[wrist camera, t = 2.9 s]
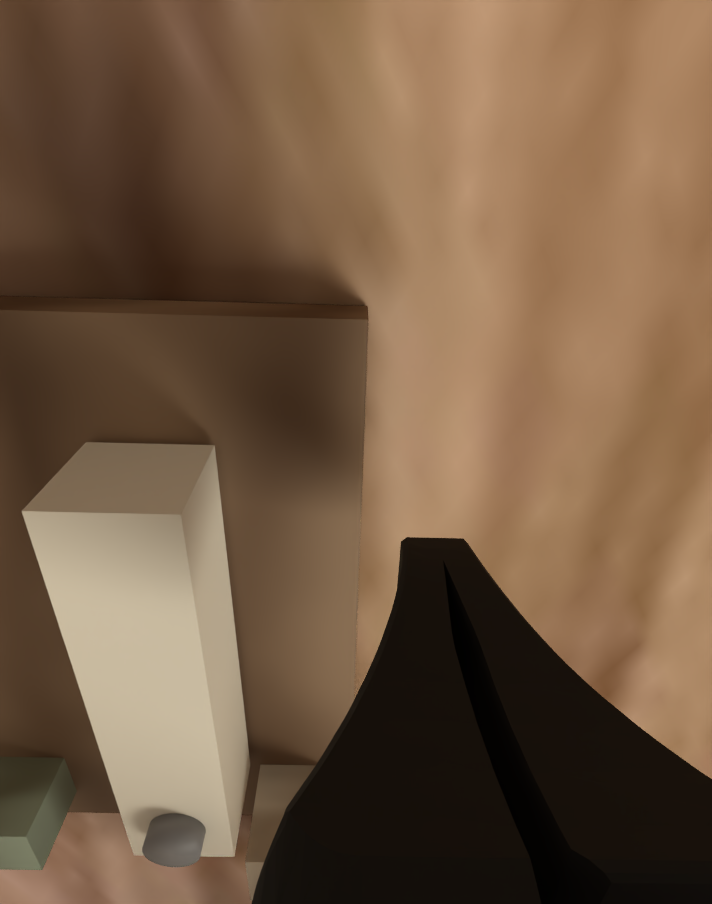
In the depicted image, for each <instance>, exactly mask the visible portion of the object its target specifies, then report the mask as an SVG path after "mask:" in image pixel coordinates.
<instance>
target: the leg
mask: <svg viewBox="0 0 712 904" xmlns="http://www.w3.org/2000/svg"><path fill="white" fill-rule="evenodd" d="M22 514H23V517H24V520H25V523H26V527H27V530H28V533H29V536H30V539H31V542H32V545H33V548H34V551H35V554H36V557H37V560H38V563H39V566H40V569H41V572H42V575H43V579H44V582H45V585H46V588H47V591H48V594H49V597H50V600H51V603H52V606H53V609H54V612H55V615H56V618H57V621H58V624H59V628H60V631H61V634H62V637H63V640H64V643H65V646H66V649H67V652H68V655H69V658H70V661H71V664H72V667H73V670H74V673H75V676H76V680H77V683H78V686H79V689H80V692H81V695H82V698H83V701H84V704H85V707H86V710H87V713H88V716H89V719H90V722H91V725H92V729H93V732H94V735H95V738H96V741H97V744H98V747H99V750H100V753H101V756H102V759H103V762H104V765H105V768H106V771H107V774H108V777H109V781H110V784H111V787H112V790H113V793H114V796H115V799H116V802H117V805H118V808H119V811H120V814H121V817H122V820H123V823H124V826H125V830H126V833H127V836H128V839H129V842H130V845H131V848H132V851H133V854H134V855H144V856H145V857H146V858H147V859H148V860H150V861H152V862H154V863H156V864H159V865H162V866H167V867H184V866H189V865H192V864H194V863H195V862H197V861H198V860H199V858H200V856H213V857H234V856H235V851H236V845H237V839H238V833H239V828H240V822H241V816H242V810H243V805H244V799H245V793H246V787H247V781H248V776H249V770H250V757H249V748H248V739H247V730H246V721H245V712H244V703H243V694H242V685H241V676H240V668H239V659H238V650H237V641H236V632H235V623H234V614H233V605H232V596H231V587H230V578H229V569H228V560H227V551H226V542H225V533H224V524H223V515H222V507H221V498H220V489H219V480H218V471H217V462H216V453H215V445H187V444H145V443H103V442H86V443H85V444H84V445H83V446H82V447H81V448H80V449H79V450H78V451H77V452H76V453H75V454H74V455H73V457H72V458H71V459H70V460H69V461H68V462H67V463H66V464H65V465H64V466H63V467H62V468H61V469H60V470H59V472H58V473H57V474H56V475H55V476H54V477H53V478H52V479H51V480H50V481H49V482H48V483H47V484H46V485H45V487H44V488H43V489H42V490H41V491H40V492H39V493H38V494H37V495H36V496H35V497H34V498H33V499H32V500H31V502H30V503H29V504H28V505H27V506H26V507H25V508H24V509H23V510H22Z"/></svg>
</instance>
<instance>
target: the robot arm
mask: <svg viewBox="0 0 712 904" xmlns="http://www.w3.org/2000/svg"><path fill="white" fill-rule="evenodd" d="M252 904H712V779H711V778H709V777H708V776H706V775H704V774H703V773H701V772H700V771H699V770H697V769H696V768H694V767H693V766H691V765H690V764H689V763H687V762H686V761H684V760H683V759H682V758H680V757H679V756H678V755H676V754H675V753H673V752H672V751H671V750H669V749H668V748H666V747H665V746H664V745H662V744H661V743H659V742H658V741H657V740H656V739H654V738H653V737H652V736H650V735H649V734H648V733H646V732H645V731H644V730H642V729H641V728H640V727H639V726H637V725H636V724H635V723H634V722H632V721H631V720H630V719H629V718H628V717H626V716H625V715H624V714H623V713H621V712H620V711H619V710H618V709H617V708H615V707H614V706H613V705H612V704H610V703H609V702H608V701H607V700H606V699H604V698H603V697H602V696H601V695H600V694H599V693H597V692H596V691H595V690H594V689H593V688H592V687H591V686H589V685H588V684H587V683H586V682H585V681H584V680H583V679H582V678H581V677H580V676H579V675H578V674H577V673H576V672H575V671H573V670H572V669H571V668H570V667H569V666H568V665H567V664H566V663H565V662H564V661H563V660H562V659H561V658H560V657H559V656H558V655H557V654H556V653H555V652H554V651H553V649H552V648H551V647H550V646H549V645H548V644H547V643H546V642H545V641H544V640H543V639H542V638H541V637H540V635H539V634H538V633H537V632H536V631H535V630H534V629H533V628H532V627H531V625H530V624H529V623H528V622H527V621H526V620H525V618H524V617H523V616H522V615H521V614H520V613H519V611H518V610H517V609H516V608H515V606H514V605H513V604H512V603H511V601H510V600H509V599H508V598H507V596H506V595H505V594H504V593H503V592H502V590H501V589H500V588H499V586H498V585H497V584H496V582H495V581H494V580H493V578H492V577H491V576H490V574H489V573H488V572H487V570H486V569H485V567H484V566H483V565H482V563H481V562H480V560H479V559H478V558H477V556H476V555H475V553H474V552H473V550H472V549H471V547H470V546H469V545H468V543H467V542H466V541H465V540H464V539H456V538H410V537H407V538H405V539H404V540H403V541H401V550H400V562H399V573H398V585H397V592H396V596H395V600H394V604H393V608H392V611H391V614H390V617H389V620H388V623H387V626H386V628H385V631H384V634H383V637H382V640H381V642H380V645H379V647H378V650H377V652H376V655H375V657H374V660H373V662H372V664H371V666H370V669H369V671H368V673H367V675H366V677H365V679H364V681H363V683H362V685H361V687H360V689H359V691H358V693H357V695H356V698H355V700H354V702H353V703H352V705H351V707H350V709H349V711H348V713H347V715H346V716H345V718H344V720H343V722H342V723H341V725H340V727H339V728H338V730H337V732H336V733H335V735H334V737H333V738H332V740H331V742H330V743H329V745H328V747H327V748H326V750H325V752H324V753H323V755H322V756H321V758H320V759H319V761H318V763H317V764H316V766H315V767H314V769H313V770H312V771H311V773H310V774H309V776H308V777H307V779H306V780H305V781H304V783H303V784H302V786H301V787H300V789H299V790H298V791H297V793H296V794H295V796H294V797H293V799H292V800H291V801H290V803H289V804H288V806H287V807H286V809H285V812H284V815H283V818H282V820H281V822H280V824H279V827H278V829H277V831H276V834H275V836H274V838H273V841H272V843H271V846H270V848H269V851H268V853H267V856H266V858H265V861H264V864H263V866H262V869H261V872H260V875H259V878H258V881H257V884H256V888H255V892H254V896H253V900H252Z"/></svg>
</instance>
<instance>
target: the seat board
mask: <svg viewBox="0 0 712 904" xmlns="http://www.w3.org/2000/svg"><path fill="white" fill-rule="evenodd" d="M367 344H368V307H367V306H356V305H319V304H281V303H244V302H206V301H169V300H131V299H94V298H56V297H19V296H0V869H12V870H42V869H43V867H44V865H45V863H46V860H47V858H48V856H49V853H50V851H51V849H52V847H53V844H54V842H55V840H56V837H57V835H58V833H59V831H60V828H61V826H62V824H63V821H64V819H65V817H66V815H67V812H94V813H120V811H119V808H118V805H117V802H116V799H115V796H114V793H113V790H112V787H111V784H110V781H109V777H108V774H107V771H106V768H105V765H104V762H103V759H102V756H101V753H100V750H99V747H98V744H97V741H96V738H95V735H94V732H93V729H92V725H91V722H90V719H89V716H88V713H87V710H86V707H85V704H84V701H83V698H82V695H81V692H80V689H79V686H78V683H77V680H76V676H75V673H74V670H73V667H72V664H71V661H70V658H69V655H68V652H67V649H66V646H65V643H64V640H63V637H62V634H61V631H60V628H59V624H58V621H57V618H56V615H55V612H54V609H53V606H52V603H51V600H50V597H49V594H48V591H47V588H46V585H45V582H44V579H43V575H42V572H41V569H40V566H39V563H38V560H37V557H36V554H35V551H34V548H33V545H32V542H31V539H30V536H29V533H28V530H27V527H26V523H25V520H24V517H23V514H22V510H23V509H24V508H25V507H26V506H27V505H28V504H29V503H30V502H31V500H32V499H33V498H34V497H35V496H36V495H37V494H38V493H39V492H40V491H41V490H42V489H43V488H44V487H45V485H46V484H47V483H48V482H49V481H50V480H51V479H52V478H53V477H54V476H55V475H56V474H57V473H58V472H59V470H60V469H61V468H62V467H63V466H64V465H65V464H66V463H67V462H68V461H69V460H70V459H71V458H72V457H73V455H74V454H75V453H76V452H77V451H78V450H79V449H80V448H81V447H82V446H83V445H84V444H85V443H86V442H103V443H145V444H187V445H215V453H216V462H217V471H218V480H219V489H220V498H221V507H222V515H223V524H224V533H225V542H226V551H227V560H228V569H229V578H230V587H231V596H232V605H233V614H234V623H235V632H236V641H237V650H238V659H239V668H240V676H241V685H242V694H243V703H244V712H245V721H246V730H247V739H248V748H249V757H250V770H249V776H248V781H247V787H246V793H245V799H244V805H243V810H242V815H252V822H251V828H250V835H249V841H248V847H247V854H246V860H245V864H246V872H247V879H248V886H249V893H250V900H253V896H254V892H255V888H256V884H257V881H258V878H259V875H260V872H261V869H262V866H263V864H264V861H265V858H266V856H267V853H268V851H269V848H270V846H271V843H272V841H273V838H274V836H275V834H276V831H277V829H278V827H279V824H280V822H281V820H282V818H283V815H284V812H285V809H286V807H287V806H288V804H289V803H290V801H291V800H292V799H293V797H294V796H295V794H296V793H297V791H298V790H299V789H300V787H301V786H302V784H303V783H304V781H305V780H306V779H307V777H308V776H309V774H310V773H311V771H312V770H313V769H314V767H315V766H316V764H317V763H318V761H319V759H320V758H321V756H322V755H323V753H324V752H325V750H326V748H327V747H328V745H329V743H330V742H331V740H332V738H333V737H334V735H335V733H336V732H337V730H338V728H339V727H340V725H341V723H342V722H343V720H344V718H345V716H346V715H347V713H348V711H349V709H350V707H351V705H352V703H353V702H354V691H355V664H356V638H357V611H358V584H359V558H360V531H361V504H362V478H363V451H364V424H365V397H366V371H367Z"/></svg>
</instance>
